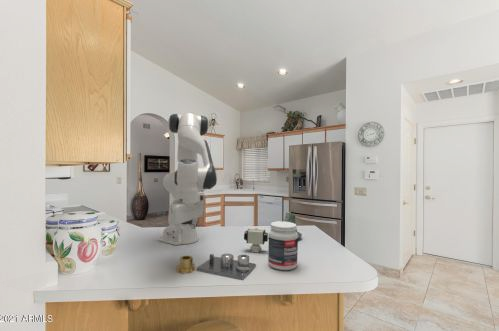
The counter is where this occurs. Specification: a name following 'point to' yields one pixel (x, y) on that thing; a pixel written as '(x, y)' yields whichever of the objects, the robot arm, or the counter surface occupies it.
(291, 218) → the tree stump
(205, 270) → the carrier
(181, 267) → the gear
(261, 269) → the counter surface
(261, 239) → the pneumatic valve
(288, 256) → the supplement tub
